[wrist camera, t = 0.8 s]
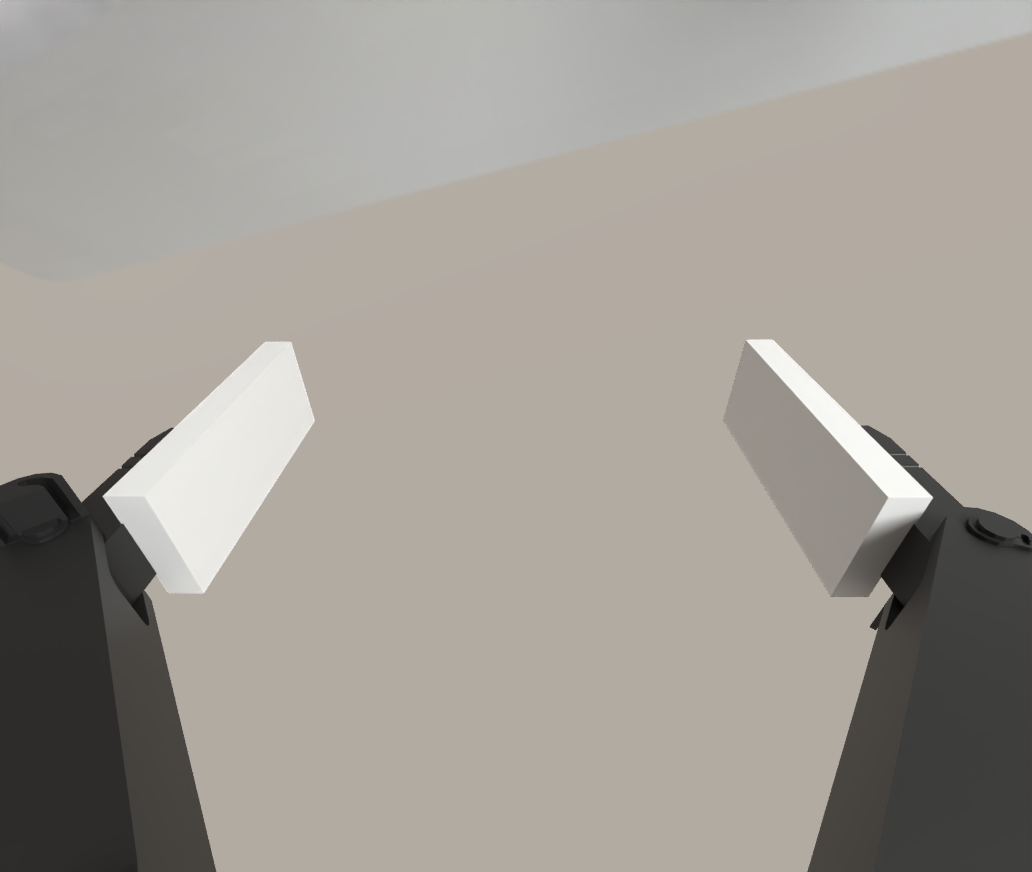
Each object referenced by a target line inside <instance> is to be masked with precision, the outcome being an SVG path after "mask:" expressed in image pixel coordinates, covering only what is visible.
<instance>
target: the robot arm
mask: <svg viewBox="0 0 1032 872" xmlns="http://www.w3.org/2000/svg"><path fill="white" fill-rule="evenodd" d="M314 421H315V420H314V416H313V413H312V410H311V406H310V403H309V400H308V396H307V393H306V390H305V386H304V383H303V380H302V376H301V373H300V370H299V366H298V363H297V360H296V356H295V353H294V350H293V346H292V343H291V342H264V343H263V344H262V345H261V346H260V347H259V348H258V349H257V350H256V351H255V352H254V353H253V354H252V355H251V356H250V357H249V358H248V359H247V360H246V361H244V362H243V363H242V364H241V365H240V366H239V367H238V368H237V369H236V370H235V371H234V372H233V373H232V374H231V375H230V376H229V377H228V378H227V379H225V381H223V382H222V383H221V384H220V385H219V386H218V387H217V388H216V389H215V390H214V391H213V392H212V393H211V394H210V395H209V396H208V397H207V398H205V399H204V400H203V401H202V402H201V403H200V404H199V405H198V406H197V407H196V408H195V409H194V410H193V411H192V412H191V413H190V414H189V415H188V416H187V417H186V418H184V419H183V421H181V422H180V423H179V424H178V425H177V426H176V427H175V428H170V429H168V430H167V431H165V432H163V433H161V434H159V435H158V436H156V437H154V438H153V439H151V440H149V441H148V442H147V443H146V444H145V445H144V446H143V447H142V448H140V449H139V450H138V451H137V452H136V453H135V454H134V457H131V458H130V459H128V460H127V461H126V462H125V463H124V464H123V465H122V469H118V470H117V471H115V473H113V474H112V475H111V476H110V477H109V478H108V479H107V480H106V481H105V482H104V483H102V484H101V485H100V486H99V487H98V488H97V489H96V490H95V491H94V492H93V493H91V494H90V495H89V496H88V497H87V498H86V499H85V500H84V501H83V502H82V503H81V501H80V500H79V499H78V497H77V496H76V494H75V493H74V492H73V490H72V489H71V488H70V486H69V485H68V483H67V482H66V481H65V479H64V478H63V477H62V475H58V474H54V473H43V474H34V475H30V476H26V477H22V478H18V479H16V480H13V481H11V482H8V483H6V484H3V485H1V486H0V872H216V869H215V865H214V861H213V857H212V852H211V848H210V844H209V840H208V835H207V831H206V828H205V823H204V819H203V814H202V810H201V806H200V802H199V798H198V794H197V790H196V785H195V781H194V777H193V772H192V769H191V764H190V760H189V756H188V751H187V747H186V743H185V739H184V735H183V730H182V726H181V722H180V718H179V714H178V710H177V705H176V701H175V697H174V693H173V688H172V684H171V680H170V677H169V672H168V668H167V664H166V659H165V655H164V651H163V647H162V642H161V638H160V634H159V630H158V626H157V621H156V617H155V613H154V609H153V605H152V601H151V599H150V598H149V596H148V595H147V594H146V592H145V591H144V589H145V588H146V587H147V585H148V584H149V583H150V582H151V580H152V579H153V578H154V576H155V575H156V576H157V578H158V579H159V580H160V582H161V584H162V585H163V586H164V588H165V589H166V591H167V592H168V593H204V592H205V591H206V589H207V588H208V586H209V584H210V583H211V581H212V579H213V578H214V577H215V575H216V574H217V572H218V570H219V569H220V567H221V566H222V564H223V563H224V561H225V560H226V558H227V556H228V555H229V553H230V552H231V550H232V549H233V547H234V546H235V544H236V543H237V541H238V539H239V538H240V536H241V535H242V533H243V532H244V530H245V529H246V527H247V525H248V524H249V522H250V521H251V519H252V518H253V516H254V515H255V513H256V512H257V510H258V508H259V507H260V505H261V504H262V502H263V501H264V499H265V498H266V496H267V494H268V493H269V491H270V490H271V488H272V487H273V485H274V484H275V482H276V480H277V479H278V477H279V476H280V474H281V473H282V471H283V470H284V468H285V466H286V465H287V463H288V462H289V460H290V459H291V457H292V456H293V454H294V453H295V451H296V449H297V448H298V446H299V445H300V443H301V442H302V440H303V439H304V437H305V435H306V434H307V432H308V431H309V429H310V428H311V426H312V425H313V423H314ZM723 421H724V423H725V424H726V426H727V428H728V429H729V431H730V432H731V434H732V436H733V437H734V439H735V441H736V442H737V444H738V446H739V447H740V449H741V450H742V452H743V454H744V455H745V457H746V459H747V460H748V462H749V463H750V465H751V467H752V468H753V470H754V472H755V473H756V475H757V477H758V478H759V480H760V481H761V483H762V485H763V487H764V488H765V490H766V491H767V493H768V495H769V496H770V498H771V500H772V501H773V503H774V505H775V506H776V508H777V509H778V511H779V513H780V514H781V516H782V518H783V519H784V521H785V523H786V524H787V526H788V527H789V529H790V531H791V532H792V534H793V535H794V537H795V539H796V541H797V542H798V544H799V545H800V547H801V549H802V550H803V552H804V554H805V555H806V557H807V559H808V560H809V562H810V563H811V565H812V567H813V568H814V570H815V572H816V573H817V575H818V577H819V578H820V580H821V581H822V583H823V585H824V586H825V588H826V589H827V591H828V593H829V595H830V596H831V597H868V596H869V595H870V594H871V592H872V591H873V589H874V587H875V586H876V584H877V583H878V581H879V580H880V578H881V577H882V578H883V580H884V581H885V582H886V584H887V585H888V587H889V588H890V589H891V591H892V592H893V594H892V595H891V597H890V598H889V600H888V601H887V603H886V604H885V605H884V607H883V608H882V610H881V611H880V613H879V614H878V616H877V617H876V618H875V620H874V621H873V623H872V624H871V626H870V628H873V629H874V630H876V629H877V628H878V631H877V635H876V638H875V641H874V645H873V648H872V652H871V655H870V658H869V662H868V665H867V669H866V672H865V676H864V680H863V683H862V686H861V689H860V693H859V697H858V700H857V703H856V707H855V710H854V714H853V717H852V721H851V724H850V727H849V731H848V734H847V738H846V741H845V745H844V748H843V751H842V755H841V758H840V762H839V765H838V769H837V772H836V776H835V779H834V782H833V786H832V789H831V793H830V796H829V800H828V803H827V806H826V810H825V814H824V817H823V820H822V824H821V827H820V831H819V834H818V838H817V841H816V844H815V848H814V851H813V855H812V858H811V862H810V865H809V868H808V872H1032V534H1031V533H1030V532H1029V531H1028V530H1026V529H1025V528H1023V527H1022V526H1020V525H1019V524H1017V523H1016V522H1014V521H1012V520H1010V519H1008V518H1005V517H1003V516H1001V515H998V514H996V513H994V512H990V511H986V510H982V509H979V508H969V507H963V506H962V505H961V504H960V503H959V502H958V501H957V500H956V499H955V498H954V497H953V496H951V495H950V494H949V493H948V492H947V491H946V490H945V489H944V488H943V487H942V486H941V485H940V484H939V483H938V482H937V481H935V480H934V479H933V478H932V477H931V476H930V475H929V474H928V473H927V472H926V471H925V470H924V469H923V468H919V467H918V464H917V463H916V462H915V461H914V460H913V459H912V458H911V457H910V456H906V452H905V451H904V450H902V449H901V448H900V447H899V446H898V445H897V444H896V443H895V442H894V441H893V440H892V439H891V438H889V437H887V436H886V435H884V434H882V433H880V432H879V431H877V430H875V429H873V428H872V427H870V426H860V425H859V424H858V423H857V422H856V421H855V420H854V419H853V418H852V417H851V416H850V415H849V414H848V413H847V412H846V411H845V410H844V409H843V408H842V407H841V406H839V404H838V403H837V402H836V401H835V400H834V399H832V398H831V397H830V396H829V395H828V394H827V393H826V392H825V391H824V390H823V389H822V388H821V387H820V386H819V385H818V384H817V383H816V382H815V381H814V380H813V379H812V378H811V377H810V376H809V375H808V374H807V373H806V372H805V371H804V370H803V369H802V368H801V367H800V366H799V365H798V364H797V363H796V362H795V361H794V360H793V359H792V358H791V357H790V356H789V355H788V354H787V353H786V352H785V351H784V350H783V349H782V348H781V347H780V346H779V345H778V344H777V343H776V342H774V340H746V341H745V344H744V348H743V351H742V355H741V359H740V362H739V366H738V369H737V373H736V376H735V380H734V383H733V387H732V391H731V394H730V398H729V401H728V405H727V408H726V412H725V415H724V419H723Z"/></svg>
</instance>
